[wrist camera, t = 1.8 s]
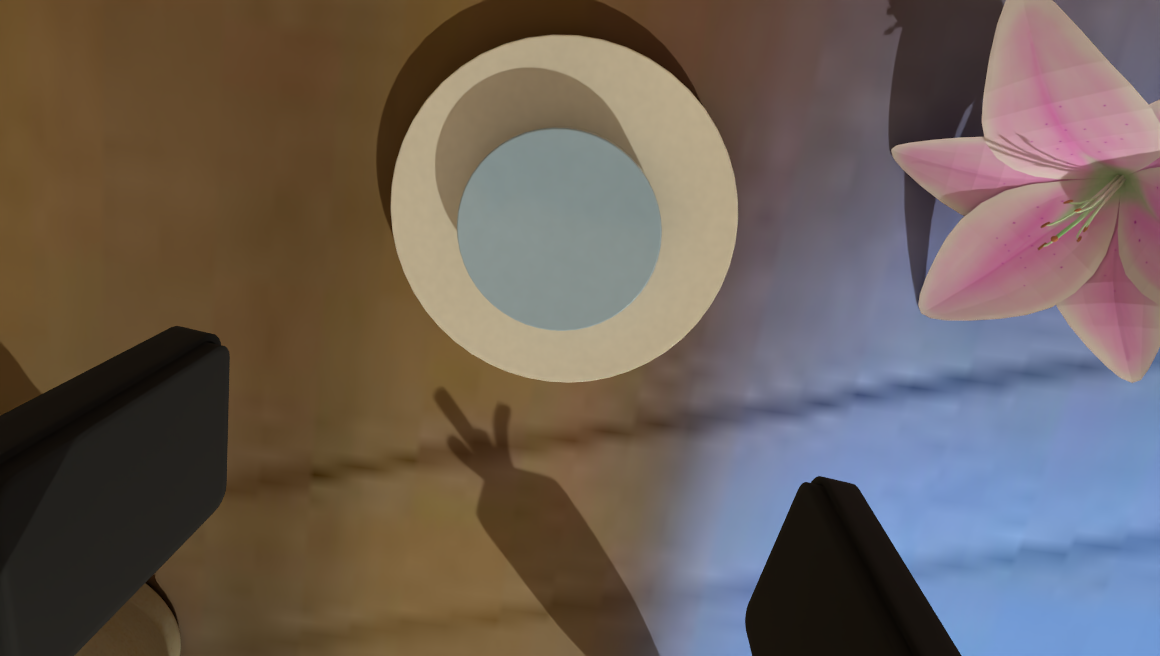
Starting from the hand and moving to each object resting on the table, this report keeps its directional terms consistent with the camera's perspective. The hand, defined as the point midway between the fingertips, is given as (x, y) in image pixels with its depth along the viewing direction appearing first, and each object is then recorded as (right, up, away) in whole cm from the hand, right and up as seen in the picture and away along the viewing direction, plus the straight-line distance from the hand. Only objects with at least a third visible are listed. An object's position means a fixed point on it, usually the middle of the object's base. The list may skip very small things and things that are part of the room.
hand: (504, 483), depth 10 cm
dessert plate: (+1, +7, +14) cm, 16 cm away
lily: (+17, +8, +13) cm, 23 cm away
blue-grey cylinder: (+1, +6, +13) cm, 14 cm away
